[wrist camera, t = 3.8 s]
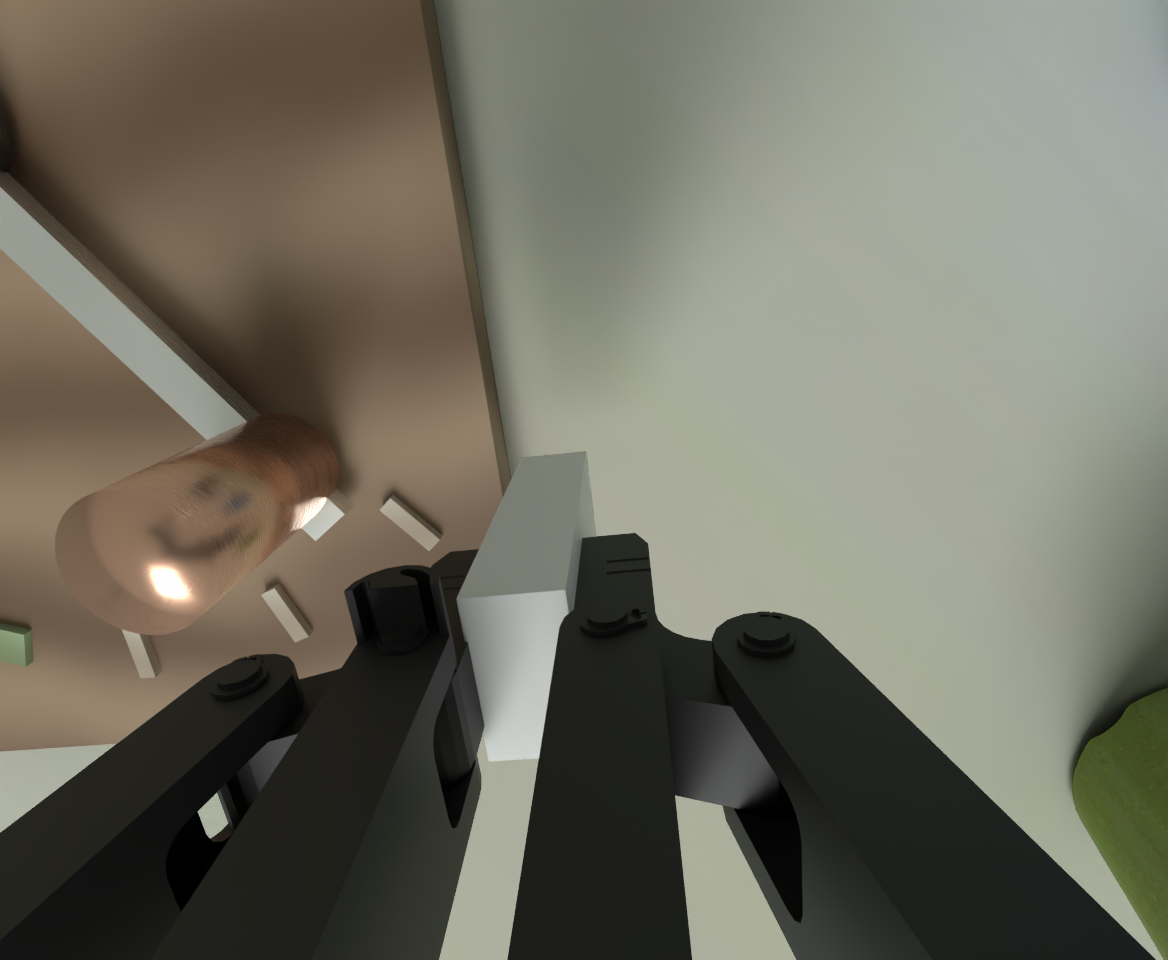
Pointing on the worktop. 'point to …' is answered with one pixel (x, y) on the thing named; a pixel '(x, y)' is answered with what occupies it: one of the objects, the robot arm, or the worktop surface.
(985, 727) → the worktop surface
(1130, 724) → the plant pot
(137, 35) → the dial board
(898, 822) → the robot arm
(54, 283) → the crank handle
